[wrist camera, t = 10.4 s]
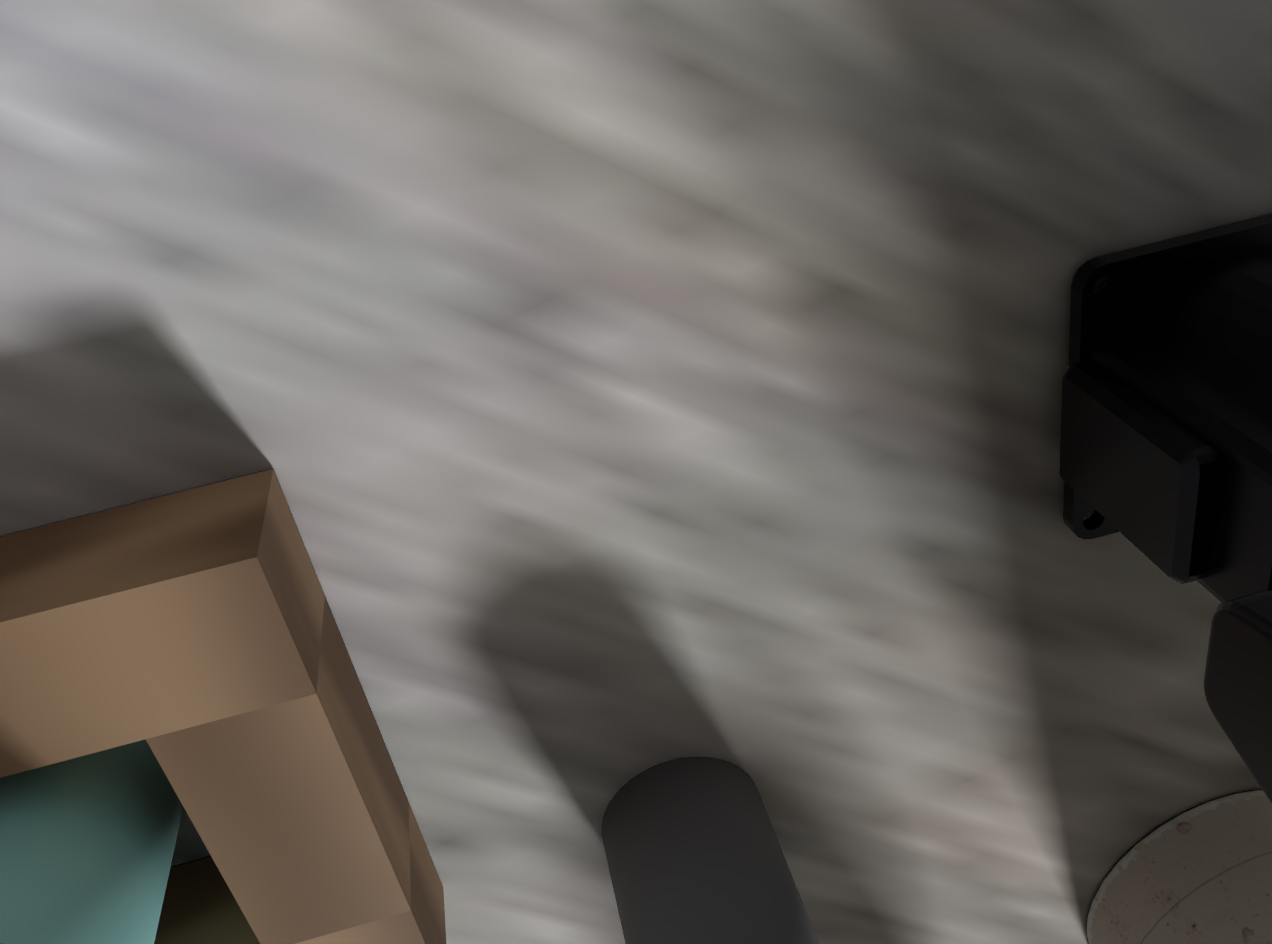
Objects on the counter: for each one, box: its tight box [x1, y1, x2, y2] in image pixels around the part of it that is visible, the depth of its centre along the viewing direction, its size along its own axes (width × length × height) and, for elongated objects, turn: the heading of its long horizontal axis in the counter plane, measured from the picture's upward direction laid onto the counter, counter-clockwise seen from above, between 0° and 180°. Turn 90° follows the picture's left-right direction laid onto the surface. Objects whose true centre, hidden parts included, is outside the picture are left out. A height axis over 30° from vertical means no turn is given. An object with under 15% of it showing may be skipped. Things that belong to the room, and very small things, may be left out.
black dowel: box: [602, 757, 819, 944], centre depth 24 cm, size 4×4×6 cm
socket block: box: [0, 469, 446, 944], centre depth 22 cm, size 12×12×3 cm
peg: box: [0, 739, 183, 944], centre depth 20 cm, size 4×4×6 cm
